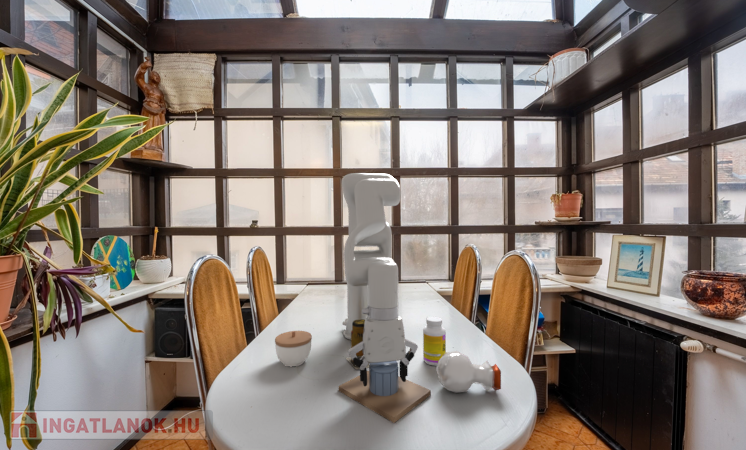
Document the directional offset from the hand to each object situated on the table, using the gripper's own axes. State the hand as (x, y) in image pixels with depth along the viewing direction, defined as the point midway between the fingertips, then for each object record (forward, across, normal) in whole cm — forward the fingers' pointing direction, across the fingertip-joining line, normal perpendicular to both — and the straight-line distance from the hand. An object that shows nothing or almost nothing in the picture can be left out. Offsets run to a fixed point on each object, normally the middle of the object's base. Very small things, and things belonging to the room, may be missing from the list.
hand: (383, 381), depth 75 cm
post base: (+3, 0, 0) cm, 3 cm away
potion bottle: (+3, +21, -3) cm, 21 cm away
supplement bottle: (+3, +19, +13) cm, 23 cm away
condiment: (+3, -3, +18) cm, 18 cm away
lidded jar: (+3, -23, +22) cm, 32 cm away
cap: (+2, 0, 0) cm, 2 cm away
